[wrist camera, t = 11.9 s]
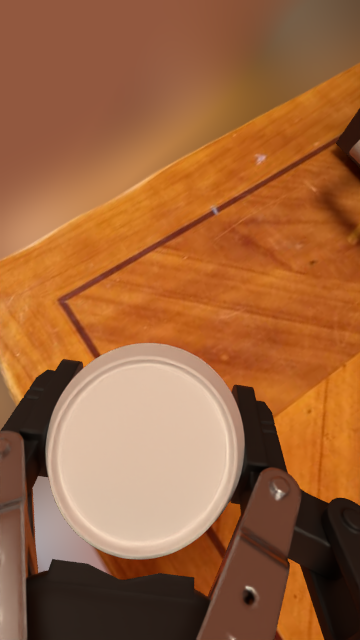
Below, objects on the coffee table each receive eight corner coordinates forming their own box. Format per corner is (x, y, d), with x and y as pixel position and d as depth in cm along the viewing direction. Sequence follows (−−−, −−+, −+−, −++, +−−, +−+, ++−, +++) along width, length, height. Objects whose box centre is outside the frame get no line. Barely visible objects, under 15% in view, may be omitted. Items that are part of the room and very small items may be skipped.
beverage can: (127, 490, 18) (74, 652, 7) (88, 394, 20) (-15, 392, 8) (218, 441, 19) (307, 509, 8) (176, 353, 21) (198, 297, 9)
